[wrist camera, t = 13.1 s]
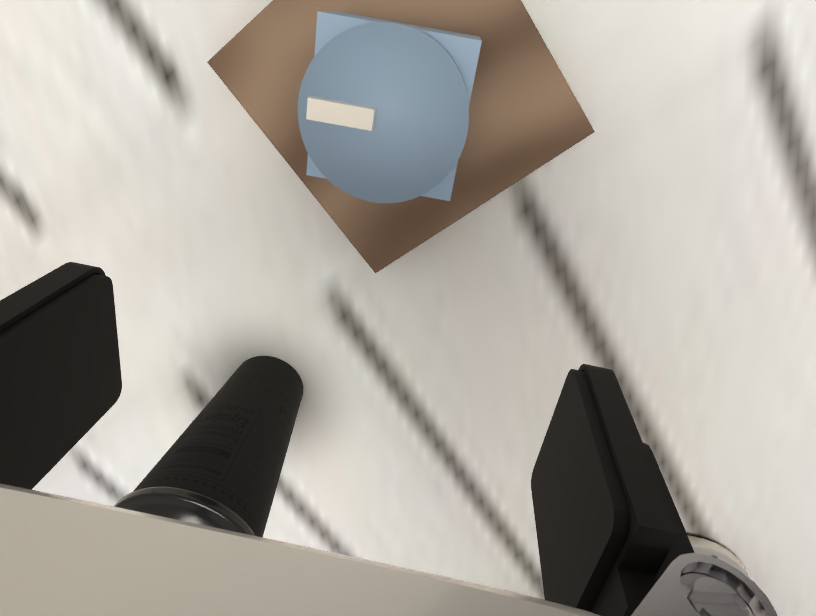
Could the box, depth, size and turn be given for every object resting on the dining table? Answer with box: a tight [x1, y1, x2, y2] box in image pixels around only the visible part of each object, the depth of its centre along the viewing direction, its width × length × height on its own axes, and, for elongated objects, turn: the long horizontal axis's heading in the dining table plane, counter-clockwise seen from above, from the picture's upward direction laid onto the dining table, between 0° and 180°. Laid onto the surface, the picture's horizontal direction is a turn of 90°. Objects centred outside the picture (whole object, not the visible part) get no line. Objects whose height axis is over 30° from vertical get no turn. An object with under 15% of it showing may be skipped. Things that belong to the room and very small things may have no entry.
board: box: [208, 0, 594, 273], centre depth 28 cm, size 14×14×1 cm
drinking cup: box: [113, 356, 303, 537], centre depth 30 cm, size 8×8×20 cm
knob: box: [298, 11, 482, 203], centre depth 25 cm, size 7×7×7 cm
